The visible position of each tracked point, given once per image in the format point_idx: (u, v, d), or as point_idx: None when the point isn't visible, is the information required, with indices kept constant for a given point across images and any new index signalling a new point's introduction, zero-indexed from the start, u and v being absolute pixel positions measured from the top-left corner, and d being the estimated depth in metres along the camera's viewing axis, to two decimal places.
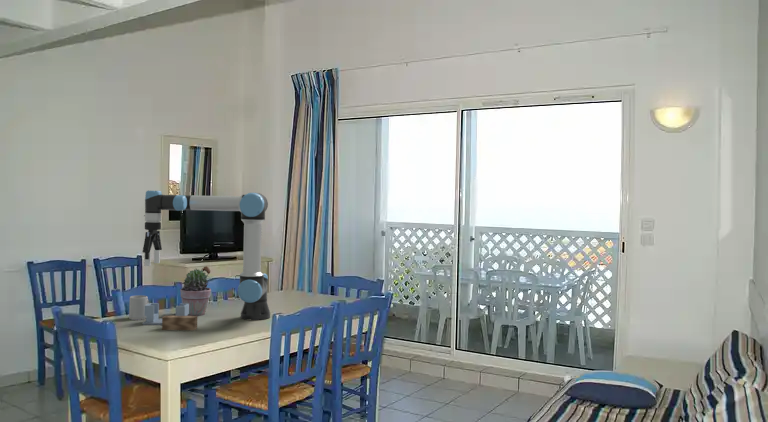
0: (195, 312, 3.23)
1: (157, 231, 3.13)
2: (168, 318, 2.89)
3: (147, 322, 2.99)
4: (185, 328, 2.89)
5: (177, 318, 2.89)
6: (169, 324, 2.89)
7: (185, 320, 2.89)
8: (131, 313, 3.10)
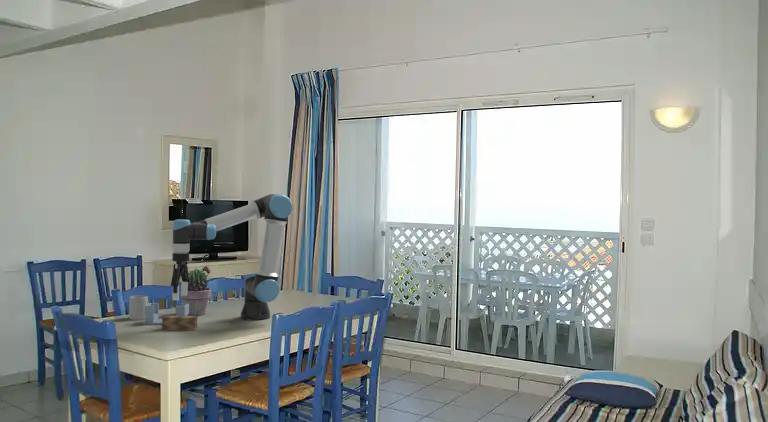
0: (195, 312, 3.23)
1: (185, 262, 2.96)
2: (168, 318, 2.89)
3: (147, 322, 2.99)
4: (185, 328, 2.89)
5: (177, 318, 2.89)
6: (169, 324, 2.89)
7: (185, 320, 2.89)
8: (131, 313, 3.10)
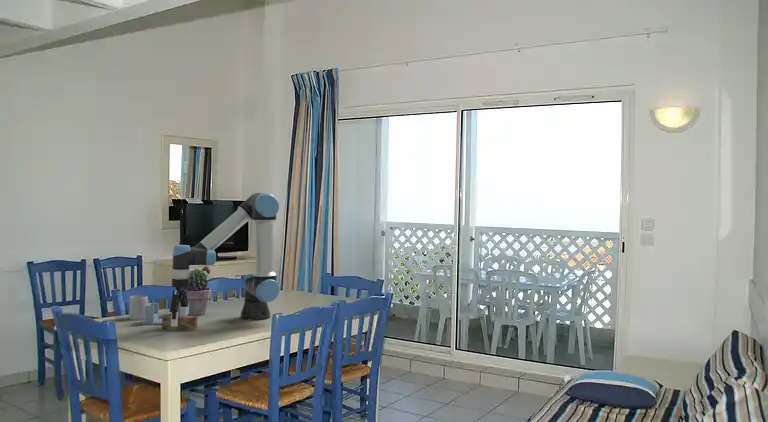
0: (195, 312, 3.23)
1: (184, 287, 2.96)
2: (168, 318, 2.89)
3: (147, 322, 2.99)
4: (185, 328, 2.89)
5: None
6: (169, 324, 2.89)
7: (185, 320, 2.89)
8: (131, 313, 3.10)
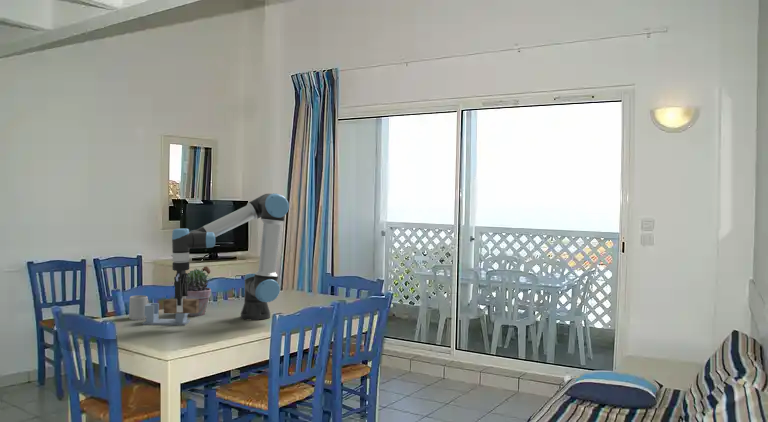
0: None
1: (185, 273, 2.97)
2: (169, 301, 2.89)
3: (147, 322, 2.99)
4: (187, 311, 2.89)
5: None
6: (171, 307, 2.89)
7: (186, 303, 2.89)
8: (131, 313, 3.10)
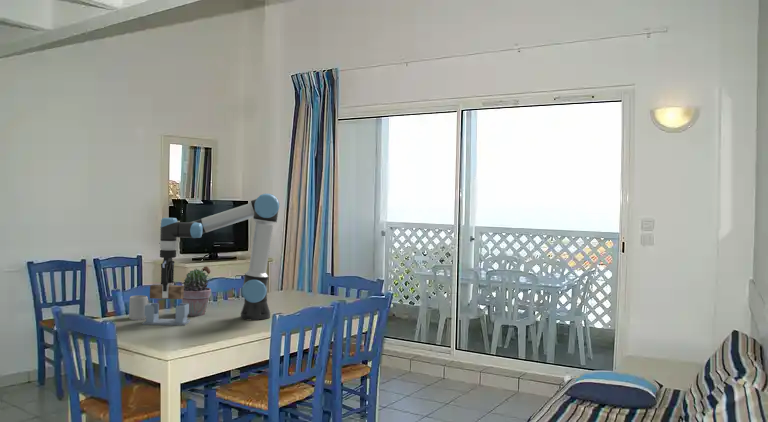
0: (195, 312, 3.23)
1: (172, 261, 3.09)
2: (156, 287, 3.01)
3: (147, 322, 2.99)
4: (172, 297, 3.01)
5: None
6: (157, 293, 3.01)
7: (172, 289, 3.01)
8: (131, 313, 3.10)
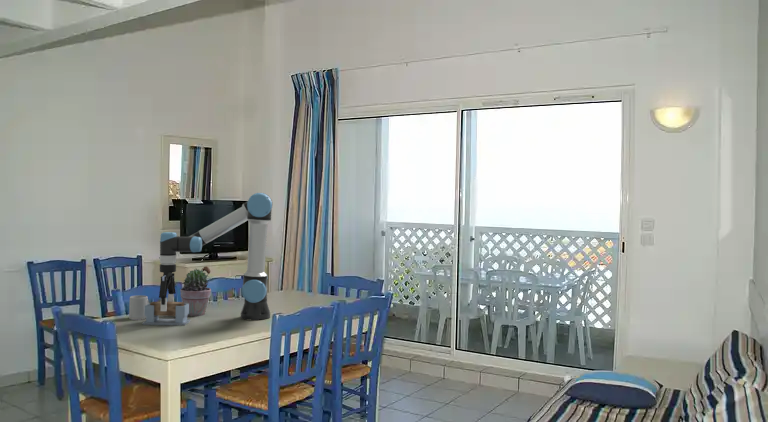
0: (195, 312, 3.23)
1: (172, 273, 3.09)
2: (156, 304, 3.01)
3: (147, 322, 2.99)
4: (172, 313, 3.02)
5: None
6: (157, 310, 3.01)
7: (172, 306, 3.01)
8: (131, 313, 3.10)
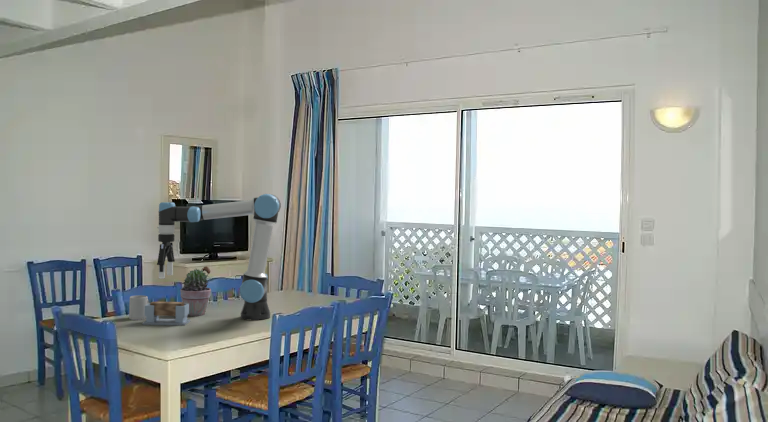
0: (195, 312, 3.23)
1: (170, 243, 3.11)
2: (156, 304, 3.01)
3: (147, 322, 2.99)
4: (172, 313, 3.02)
5: (164, 304, 3.01)
6: (157, 310, 3.01)
7: (172, 306, 3.01)
8: (131, 313, 3.10)
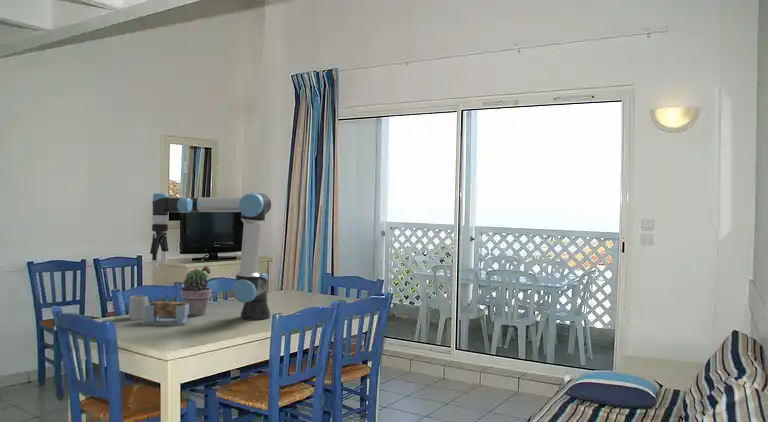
0: (195, 312, 3.23)
1: (164, 233, 3.20)
2: (156, 304, 3.01)
3: (147, 322, 2.99)
4: (172, 313, 3.02)
5: (164, 304, 3.01)
6: (157, 310, 3.01)
7: (172, 306, 3.01)
8: (131, 313, 3.10)
